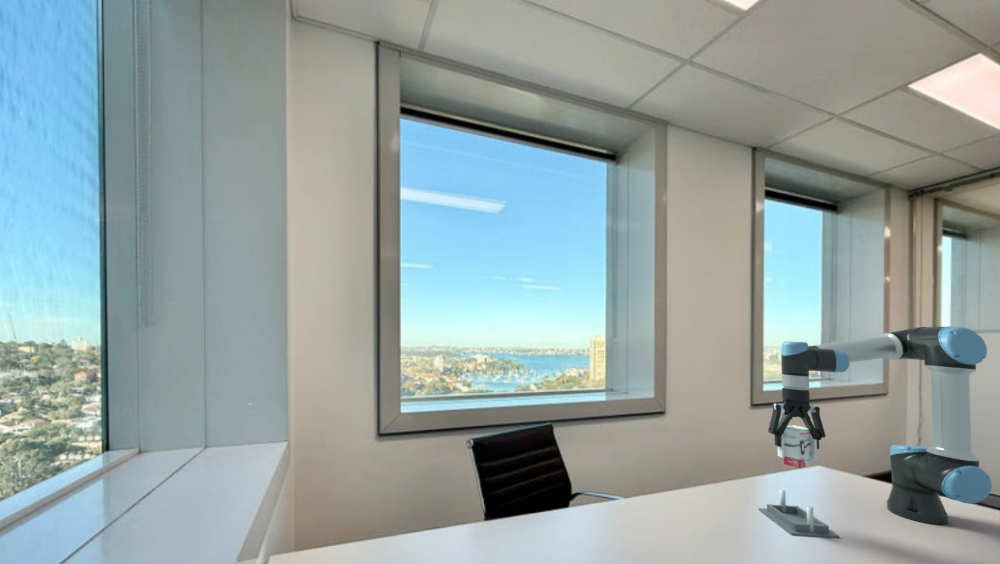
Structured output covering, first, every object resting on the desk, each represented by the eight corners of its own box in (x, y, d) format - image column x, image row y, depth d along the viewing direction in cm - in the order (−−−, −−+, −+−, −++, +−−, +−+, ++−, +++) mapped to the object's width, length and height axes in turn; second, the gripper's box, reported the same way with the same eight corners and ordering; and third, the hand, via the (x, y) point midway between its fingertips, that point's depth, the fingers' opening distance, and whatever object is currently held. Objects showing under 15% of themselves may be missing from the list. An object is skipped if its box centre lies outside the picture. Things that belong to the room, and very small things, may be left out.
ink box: (800, 468, 135) (799, 430, 136) (782, 464, 139) (782, 426, 140) (811, 465, 139) (810, 428, 141) (794, 460, 143) (793, 424, 145)
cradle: (800, 512, 146) (799, 489, 146) (839, 538, 128) (838, 511, 129) (758, 510, 146) (757, 486, 147) (791, 535, 129) (790, 508, 129)
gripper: (822, 388, 145) (824, 456, 142) (755, 384, 146) (756, 452, 144) (838, 391, 137) (840, 463, 135) (767, 387, 139) (768, 459, 136)
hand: (797, 458), depth 139 cm, fingers closed on ink box, 9 cm apart
